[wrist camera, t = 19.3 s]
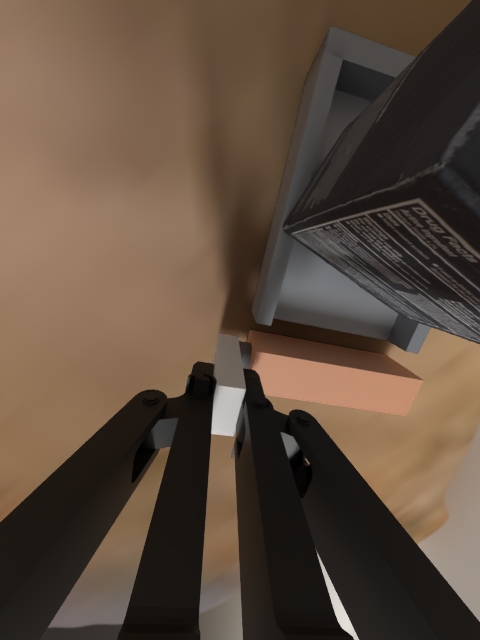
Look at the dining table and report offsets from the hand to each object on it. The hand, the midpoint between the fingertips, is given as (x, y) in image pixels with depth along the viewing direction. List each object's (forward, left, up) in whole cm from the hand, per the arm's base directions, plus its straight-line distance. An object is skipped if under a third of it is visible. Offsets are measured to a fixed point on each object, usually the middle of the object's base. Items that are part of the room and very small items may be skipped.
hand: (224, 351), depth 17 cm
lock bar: (+8, 0, -2) cm, 8 cm away
